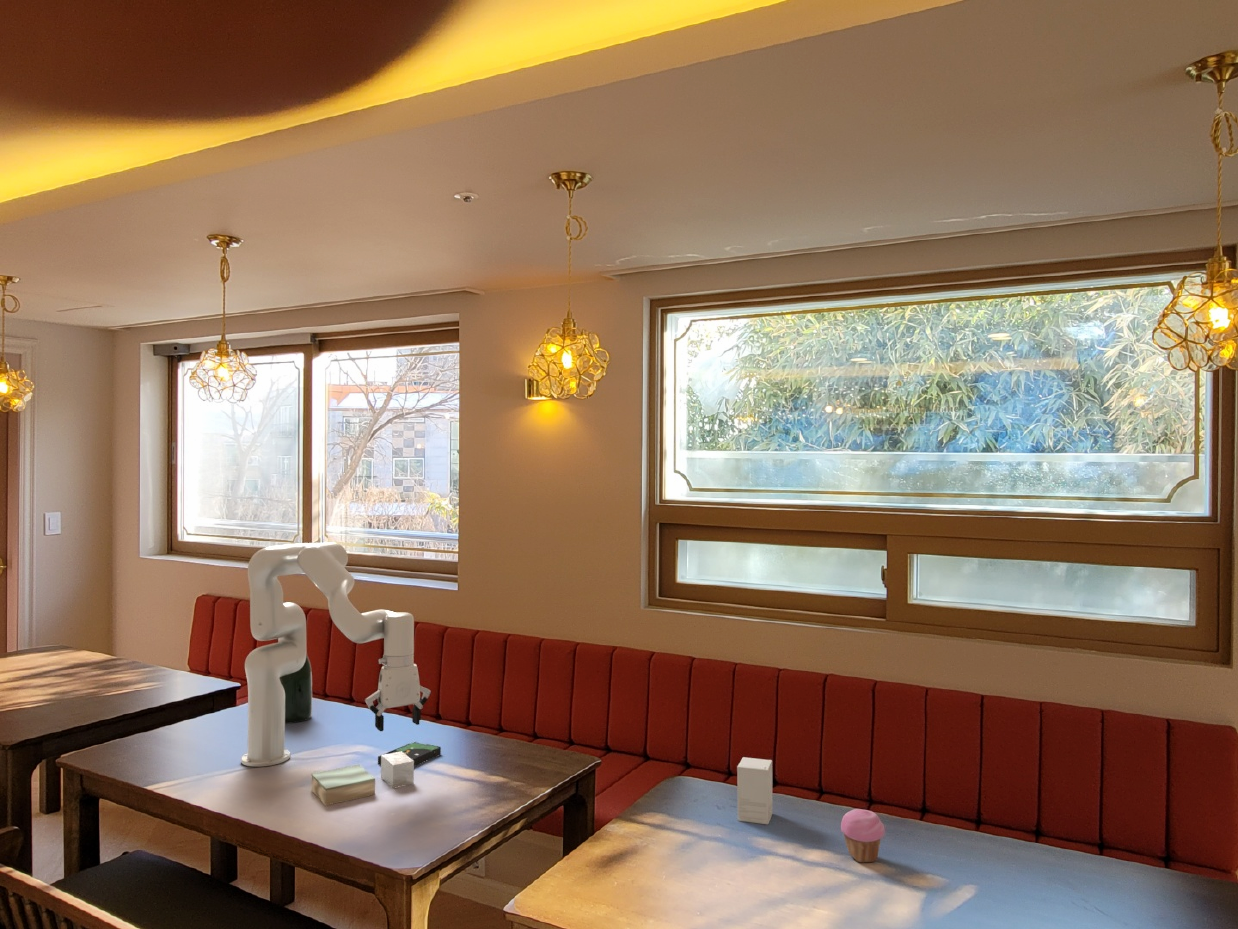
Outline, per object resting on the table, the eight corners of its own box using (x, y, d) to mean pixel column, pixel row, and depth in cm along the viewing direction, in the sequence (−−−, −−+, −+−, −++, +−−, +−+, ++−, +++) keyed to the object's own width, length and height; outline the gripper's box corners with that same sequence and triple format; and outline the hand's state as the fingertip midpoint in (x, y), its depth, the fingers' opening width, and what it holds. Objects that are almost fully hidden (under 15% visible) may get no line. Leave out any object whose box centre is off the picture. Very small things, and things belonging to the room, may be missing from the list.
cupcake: (892, 865, 169) (892, 816, 169) (855, 871, 166) (855, 821, 166) (868, 847, 177) (868, 800, 177) (832, 852, 175) (832, 804, 175)
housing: (380, 778, 216) (381, 755, 216) (401, 774, 219) (401, 751, 219) (392, 788, 209) (393, 765, 209) (413, 784, 212) (413, 761, 212)
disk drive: (406, 773, 221) (441, 755, 235) (406, 762, 221) (441, 746, 235) (377, 766, 226) (413, 750, 239) (377, 756, 226) (413, 740, 239)
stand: (311, 790, 207) (311, 774, 207) (358, 780, 214) (359, 764, 214) (325, 805, 197) (326, 788, 197) (374, 794, 204) (375, 778, 204)
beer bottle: (318, 715, 272) (319, 615, 272) (299, 724, 262) (300, 620, 262) (290, 713, 274) (292, 614, 275) (270, 722, 264) (271, 619, 265)
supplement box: (773, 813, 195) (773, 759, 195) (768, 825, 188) (768, 770, 188) (742, 809, 197) (742, 756, 198) (736, 821, 190) (736, 766, 191)
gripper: (371, 667, 206) (370, 736, 206) (435, 659, 217) (435, 724, 216) (361, 662, 212) (360, 729, 212) (424, 654, 223) (423, 718, 222)
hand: (398, 726), depth 214 cm, fingers open, 9 cm apart
